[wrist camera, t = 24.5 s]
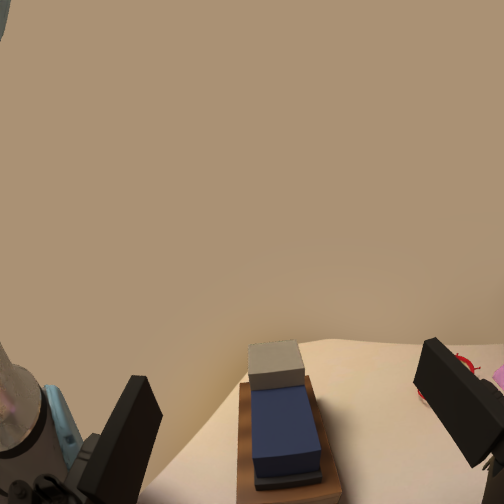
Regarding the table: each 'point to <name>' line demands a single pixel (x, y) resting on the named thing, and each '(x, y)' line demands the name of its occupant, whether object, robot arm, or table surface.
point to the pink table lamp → (499, 376)
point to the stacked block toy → (281, 418)
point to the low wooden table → (290, 499)
